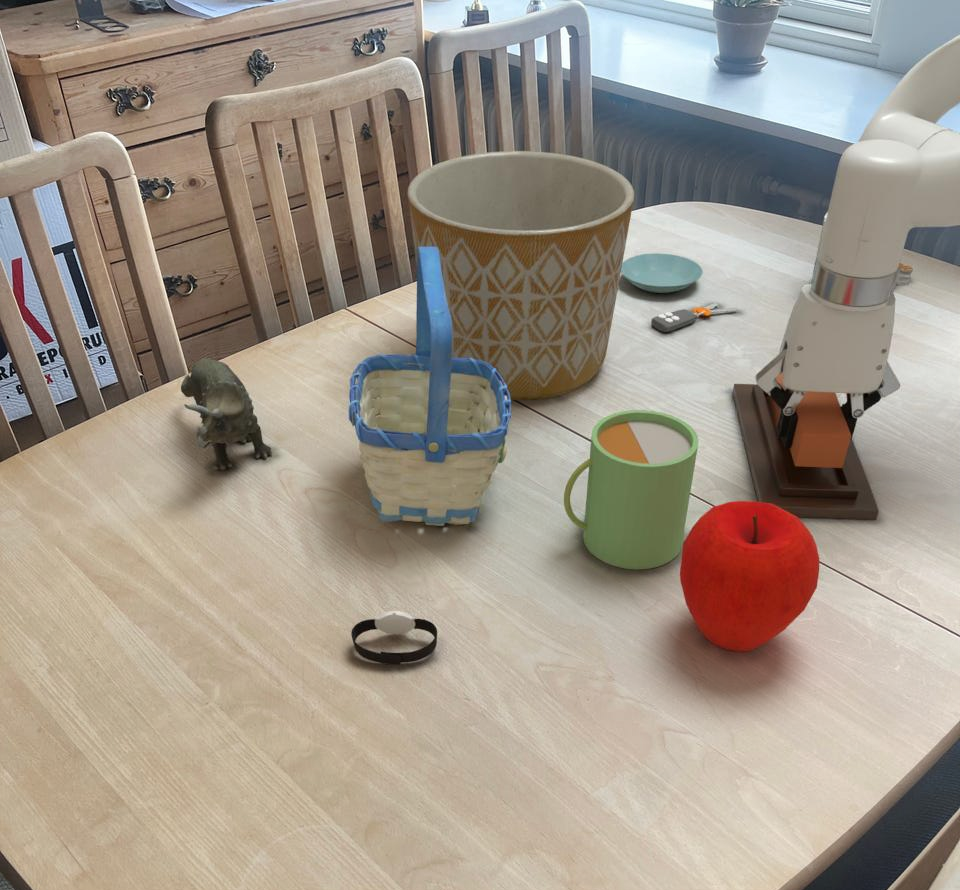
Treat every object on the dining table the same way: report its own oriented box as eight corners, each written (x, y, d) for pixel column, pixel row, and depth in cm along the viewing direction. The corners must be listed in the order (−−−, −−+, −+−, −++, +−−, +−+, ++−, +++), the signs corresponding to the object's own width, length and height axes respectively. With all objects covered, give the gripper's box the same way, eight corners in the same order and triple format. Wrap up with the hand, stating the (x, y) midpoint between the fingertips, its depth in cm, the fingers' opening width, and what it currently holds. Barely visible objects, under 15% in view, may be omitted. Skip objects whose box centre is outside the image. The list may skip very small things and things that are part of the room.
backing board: (732, 392, 129) (739, 353, 126) (830, 395, 129) (840, 356, 125) (761, 515, 110) (770, 474, 107) (876, 519, 110) (889, 478, 106)
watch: (438, 632, 97) (437, 602, 94) (437, 667, 93) (436, 637, 91) (355, 633, 97) (351, 603, 94) (351, 668, 93) (348, 638, 91)
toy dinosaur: (184, 404, 127) (165, 317, 119) (253, 394, 129) (239, 307, 121) (205, 505, 112) (185, 412, 104) (284, 491, 114) (270, 399, 106)
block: (781, 422, 117) (789, 390, 115) (826, 424, 117) (835, 392, 114) (794, 466, 111) (802, 433, 108) (842, 468, 111) (851, 435, 108)
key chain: (666, 335, 141) (668, 325, 140) (648, 325, 143) (649, 315, 142) (737, 312, 146) (739, 302, 145) (719, 302, 148) (721, 292, 147)
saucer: (602, 283, 153) (603, 267, 151) (654, 260, 159) (656, 245, 157) (664, 309, 146) (666, 293, 145) (716, 284, 152) (719, 269, 151)
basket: (517, 542, 107) (523, 326, 91) (356, 548, 106) (335, 332, 90) (500, 434, 122) (503, 233, 106) (359, 439, 121) (341, 237, 105)
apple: (800, 603, 100) (832, 486, 91) (799, 688, 91) (834, 569, 82) (675, 585, 102) (694, 469, 93) (663, 667, 93) (683, 548, 84)
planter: (624, 324, 143) (641, 156, 128) (608, 423, 124) (625, 240, 109) (438, 310, 146) (433, 144, 131) (394, 403, 127) (383, 223, 112)
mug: (663, 503, 112) (678, 403, 104) (695, 563, 104) (713, 461, 96) (549, 515, 110) (554, 415, 102) (572, 577, 103) (580, 474, 95)
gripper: (931, 267, 104) (883, 427, 116) (758, 262, 105) (728, 422, 117) (952, 300, 98) (899, 465, 111) (769, 295, 99) (736, 459, 111)
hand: (812, 441), depth 114 cm, fingers closed on block, 5 cm apart
